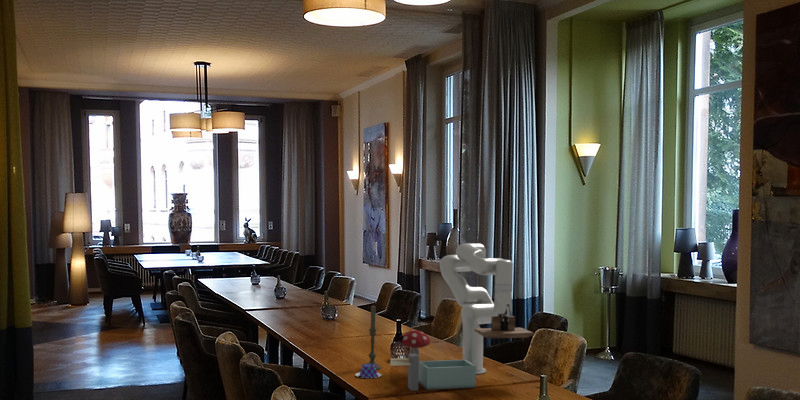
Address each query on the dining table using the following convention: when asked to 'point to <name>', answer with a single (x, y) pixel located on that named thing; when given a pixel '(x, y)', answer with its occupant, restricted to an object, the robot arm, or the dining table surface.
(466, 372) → the toolbox
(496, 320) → the toolbox lid
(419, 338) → the decorative mushroom
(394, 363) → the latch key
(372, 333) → the candlestick holder
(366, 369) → the pudding
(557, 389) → the dining table surface
